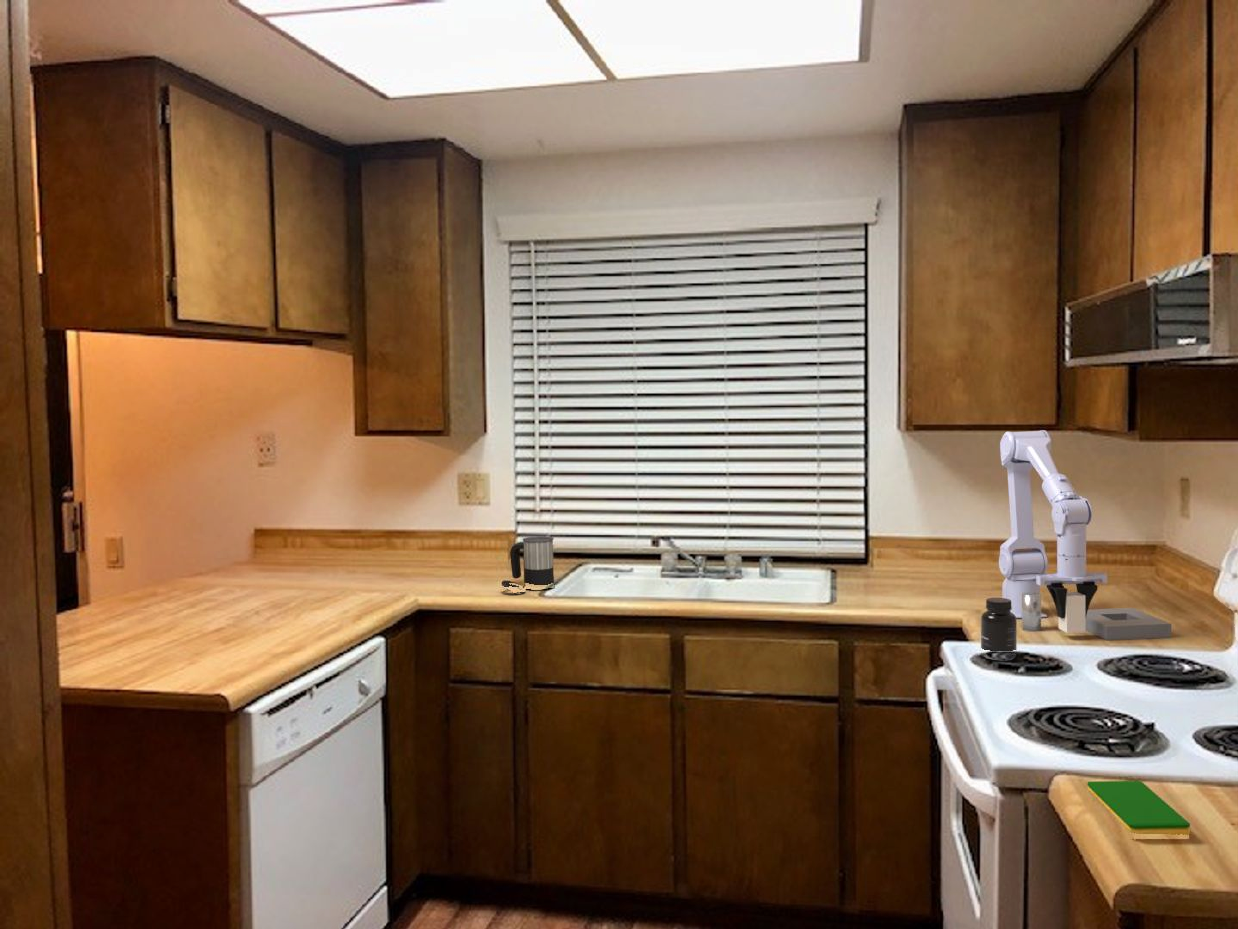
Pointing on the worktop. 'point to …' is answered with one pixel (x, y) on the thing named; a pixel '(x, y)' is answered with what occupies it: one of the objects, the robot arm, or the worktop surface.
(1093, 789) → the dish sponge
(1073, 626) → the square peg
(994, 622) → the supplement bottle
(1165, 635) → the socket plate
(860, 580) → the worktop surface
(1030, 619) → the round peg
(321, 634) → the worktop surface
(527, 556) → the milk frother
